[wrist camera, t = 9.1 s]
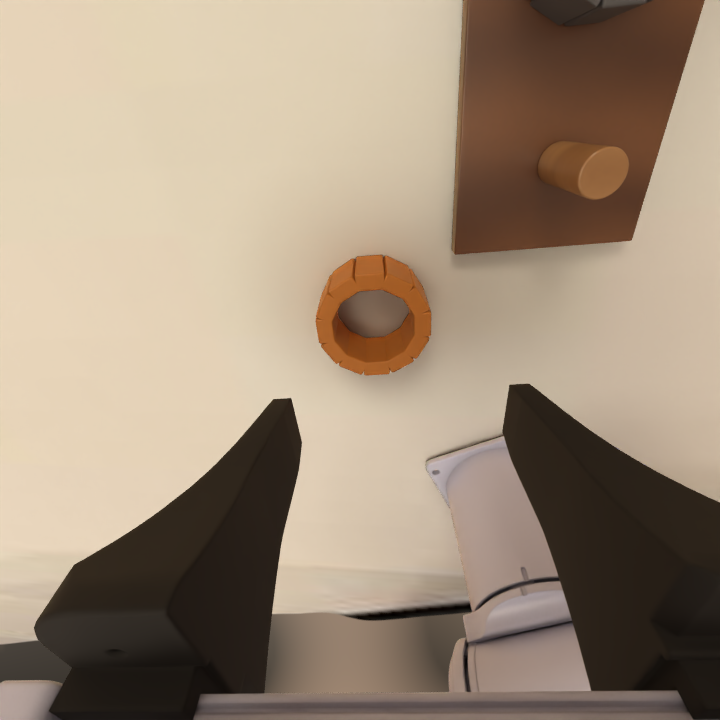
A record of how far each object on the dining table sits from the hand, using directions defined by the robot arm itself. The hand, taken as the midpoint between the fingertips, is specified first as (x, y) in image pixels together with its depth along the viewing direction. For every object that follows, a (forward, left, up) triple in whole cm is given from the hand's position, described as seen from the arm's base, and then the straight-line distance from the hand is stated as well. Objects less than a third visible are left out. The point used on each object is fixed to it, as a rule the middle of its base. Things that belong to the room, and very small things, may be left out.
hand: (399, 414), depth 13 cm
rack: (+6, -10, -9) cm, 15 cm away
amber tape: (0, +1, -9) cm, 9 cm away
